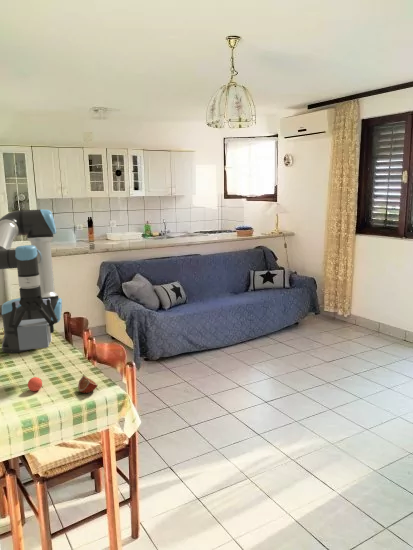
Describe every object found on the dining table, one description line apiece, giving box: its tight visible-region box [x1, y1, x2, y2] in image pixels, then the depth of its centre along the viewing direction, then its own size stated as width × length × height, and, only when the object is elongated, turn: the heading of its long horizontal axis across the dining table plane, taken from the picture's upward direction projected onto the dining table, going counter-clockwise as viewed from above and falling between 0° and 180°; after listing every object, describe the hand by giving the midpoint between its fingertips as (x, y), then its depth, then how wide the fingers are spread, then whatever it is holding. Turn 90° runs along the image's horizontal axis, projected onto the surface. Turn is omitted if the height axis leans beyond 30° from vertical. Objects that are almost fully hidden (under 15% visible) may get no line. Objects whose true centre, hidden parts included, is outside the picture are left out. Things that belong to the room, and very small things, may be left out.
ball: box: [27, 376, 43, 392], centre depth 165 cm, size 5×5×5 cm
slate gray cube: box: [17, 318, 51, 351], centre depth 173 cm, size 10×10×9 cm
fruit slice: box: [77, 375, 98, 394], centre depth 163 cm, size 8×7×5 cm
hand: (35, 342), depth 174 cm, fingers closed on slate gray cube, 10 cm apart
